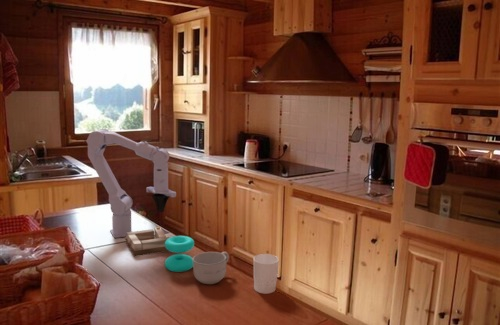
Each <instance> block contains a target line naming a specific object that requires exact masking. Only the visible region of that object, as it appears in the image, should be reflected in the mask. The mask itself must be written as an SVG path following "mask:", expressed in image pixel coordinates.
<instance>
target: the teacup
mask: <svg viewBox="0 0 500 325" xmlns="http://www.w3.org/2000/svg"><path fill="white" fill-rule="evenodd" d="M192 258H193V259H192V260H193V267H192V268H193V275H194V278H195V280H197V281H198V282H200V283H202V284H204V285H214V284H217V283H219V282H221V281H222V280H223V278H224V277H225V275H226V273H227V263H228V261H229V259H230V256H229V253H228V252H227V251H222V252H219V251H204V252H200V253H197V254H195V255H194V256H192Z"/></svg>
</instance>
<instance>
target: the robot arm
mask: <svg viewBox="0 0 500 325" xmlns="http://www.w3.org/2000/svg"><path fill="white" fill-rule="evenodd" d="M86 144H87V157H88V159H89V160H90V163H91V165H92V166H93V169H94V170H95V171H96V173H97V175H98V177H99V179H100V180H101V183H102V185H103V186H104V188H105V190H106V192H107V194H108V202H109V205H110V210H111V212H112V217H111V218H112V229H109V230H110V233H111V236H113V238H114V239H118V238H124V237H126V233H127V232H133V230H132V210H131V208H132V207H133V203H134V202H133V199H132V197H131V196H130V195H129V194H127V192H126V191H125V190H124V189H123V188H121V186H120V184H119V182H118V180H117V179H116V177H115V175H114V173H113V171H112V169H111V167H110V165H109V163H108V162H107V160H106V158H105V156H104V152H105V150H106V149H107V148H106V147H107V146H108V145H115V144H116V145H118V146H121V147H124V148H126V149H129V150H132V151H134V152H135V155H136V156H139V157H141V158H143V159H146V160H148V161H152V163H153V186H147V187H146V189H145V190H146V193H152V194H153V195H152V199H153V201H154V202H155V206H156V209H157V212H159V213H163V212H164V211H165V208H166V205H167V202H168V200H169V198H176V197H177V192H176V191H173V190H171V189H169V159H170V153H169V151H168V150H167V149H166V148H164V147H161V148H160V147H159V146H154V145H152V144H149V142H148V141H140V142H137V141H134V140H132V139H130V138H129V137H126V136H123V135H121V134H119V133H117V132H115V131H113V130H109V129H106V128H101V129H99V130H94V131H92V132H90V133H89V135H88V137H87V139H86Z"/></svg>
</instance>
